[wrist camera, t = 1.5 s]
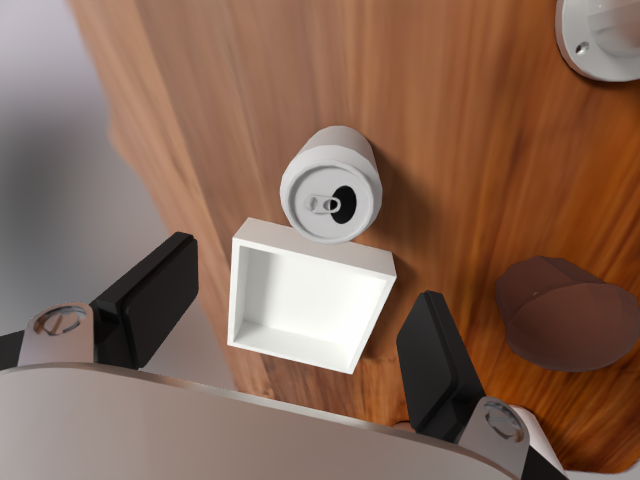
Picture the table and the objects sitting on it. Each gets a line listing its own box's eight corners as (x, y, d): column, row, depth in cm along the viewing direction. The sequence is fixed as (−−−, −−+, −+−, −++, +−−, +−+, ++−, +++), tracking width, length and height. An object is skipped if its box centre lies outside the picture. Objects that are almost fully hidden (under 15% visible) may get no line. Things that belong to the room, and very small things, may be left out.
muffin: (557, 227, 29) (640, 286, 21) (608, 283, 32) (700, 357, 24) (462, 287, 35) (497, 354, 26) (512, 331, 38) (559, 405, 29)
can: (366, 200, 30) (372, 260, 20) (300, 191, 31) (273, 245, 20) (381, 129, 27) (397, 158, 16) (305, 119, 27) (274, 142, 17)
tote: (391, 251, 33) (396, 276, 29) (352, 344, 42) (351, 374, 38) (248, 217, 33) (232, 237, 29) (240, 318, 42) (227, 344, 38)
